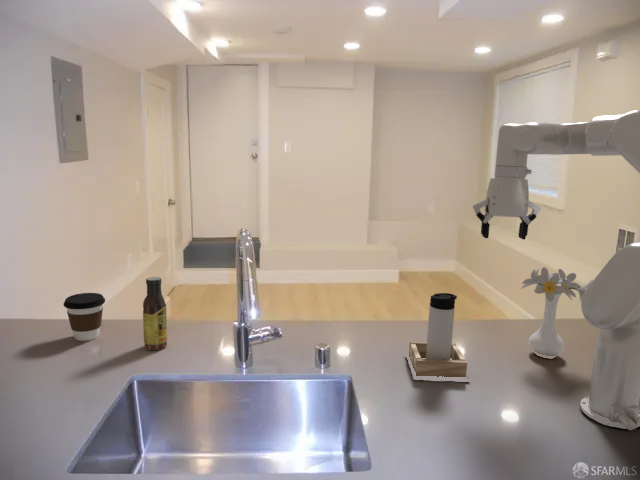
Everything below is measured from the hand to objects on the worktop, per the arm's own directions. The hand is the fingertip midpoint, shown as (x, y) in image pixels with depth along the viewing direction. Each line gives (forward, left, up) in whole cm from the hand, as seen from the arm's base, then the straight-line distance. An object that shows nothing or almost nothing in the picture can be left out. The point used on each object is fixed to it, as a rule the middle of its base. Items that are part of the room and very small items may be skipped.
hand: (503, 237), depth 134 cm
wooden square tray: (-8, +17, -34) cm, 39 cm away
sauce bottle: (0, +94, -34) cm, 100 cm away
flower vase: (+4, -17, -34) cm, 39 cm away
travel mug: (-8, +17, -34) cm, 38 cm away
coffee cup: (+5, +116, -34) cm, 121 cm away
